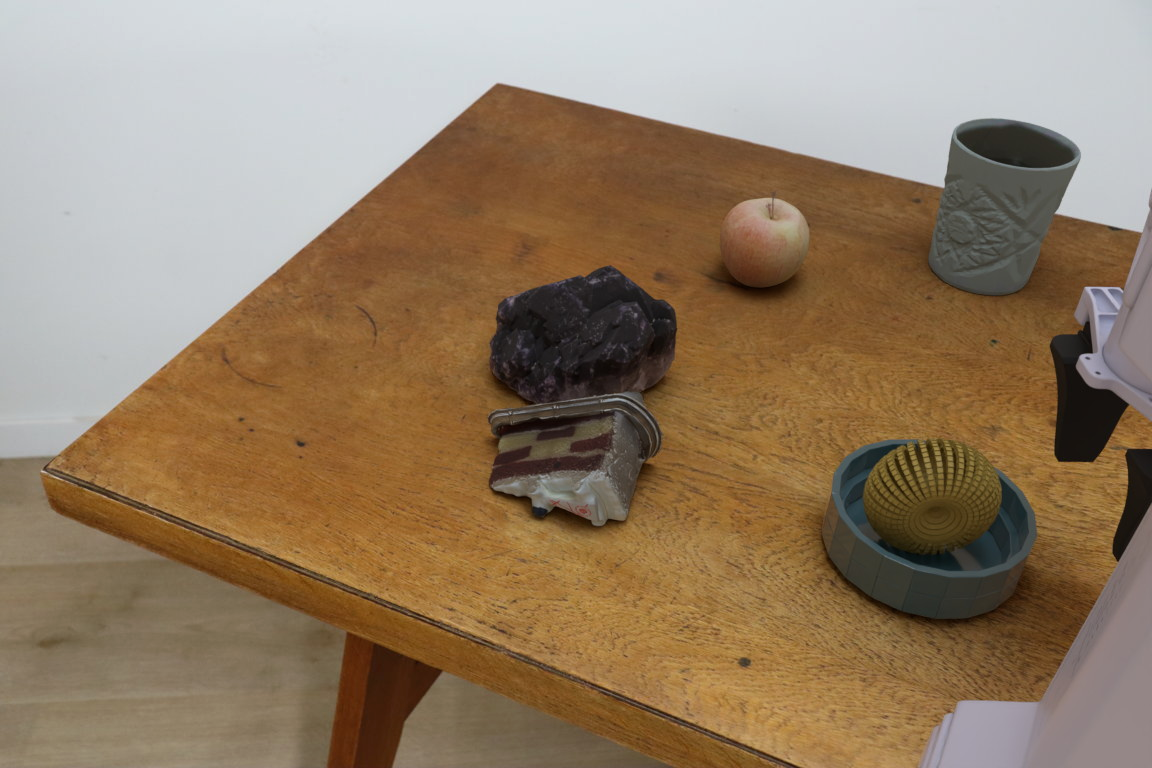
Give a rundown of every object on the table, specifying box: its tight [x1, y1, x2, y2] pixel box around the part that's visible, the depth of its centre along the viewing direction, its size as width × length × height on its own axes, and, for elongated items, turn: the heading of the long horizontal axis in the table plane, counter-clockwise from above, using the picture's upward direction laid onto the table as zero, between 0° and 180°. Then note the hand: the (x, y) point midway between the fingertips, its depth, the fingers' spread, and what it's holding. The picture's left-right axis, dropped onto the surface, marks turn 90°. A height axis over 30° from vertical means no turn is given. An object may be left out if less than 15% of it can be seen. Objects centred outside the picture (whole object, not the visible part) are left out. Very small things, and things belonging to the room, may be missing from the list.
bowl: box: [821, 438, 1038, 620], centre depth 68 cm, size 12×12×4 cm
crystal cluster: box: [489, 264, 678, 404], centre depth 80 cm, size 13×14×10 cm
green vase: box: [928, 117, 1082, 296], centre depth 94 cm, size 10×10×12 cm
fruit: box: [719, 190, 811, 288], centre depth 92 cm, size 8×7×8 cm
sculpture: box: [863, 437, 1002, 555], centre depth 66 cm, size 8×4×8 cm, turn 87°
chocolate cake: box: [486, 391, 664, 527], centre depth 71 cm, size 10×7×12 cm
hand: (1102, 505), depth 59 cm, fingers open, 7 cm apart
